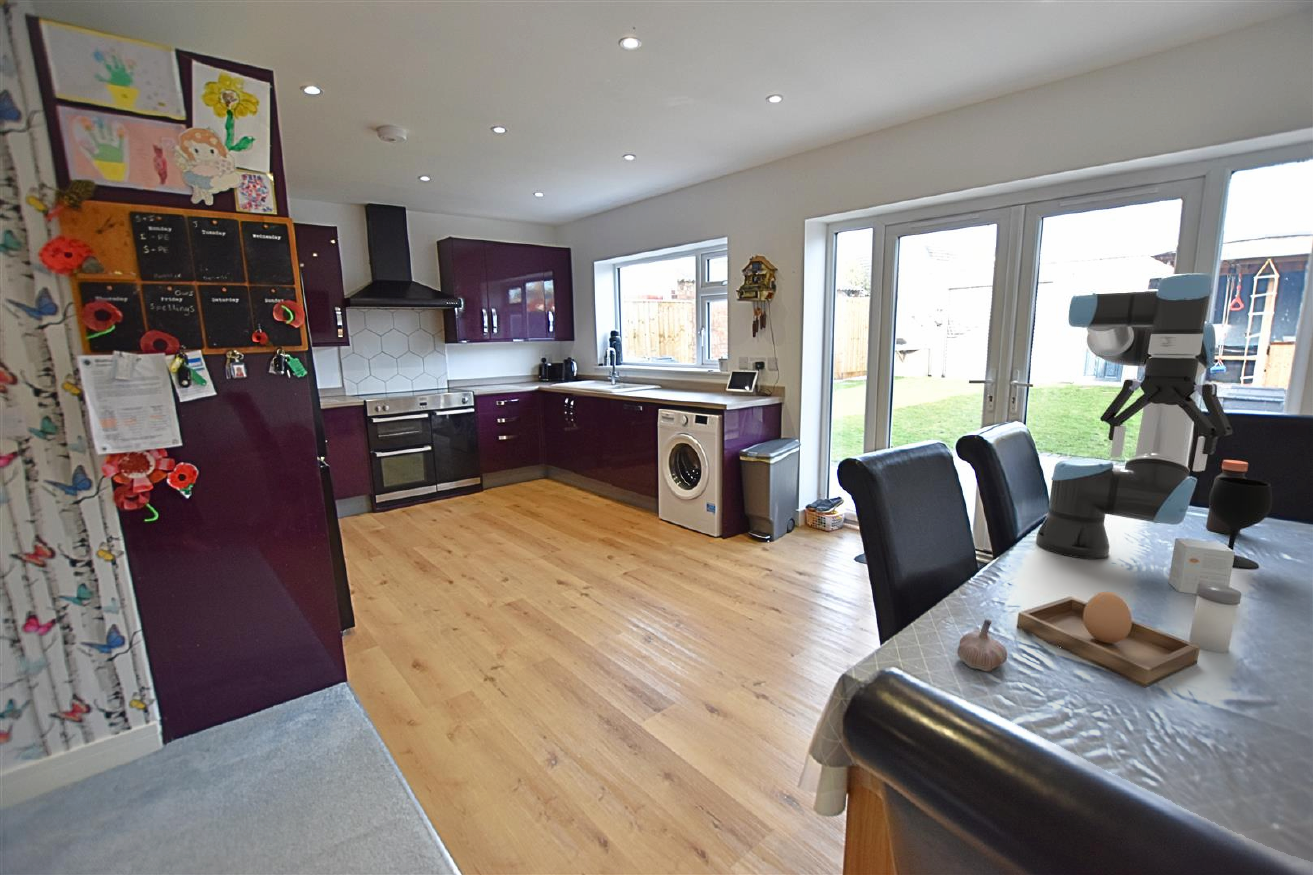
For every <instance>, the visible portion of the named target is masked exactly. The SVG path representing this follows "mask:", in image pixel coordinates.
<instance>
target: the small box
mask: <svg viewBox="0 0 1313 875" xmlns="http://www.w3.org/2000/svg"><path fill="white" fill-rule="evenodd" d="M1235 553H1236V552H1235V551H1234V549H1233V550H1231V549H1230V548H1229V547H1228V545H1225V544H1224V543H1223V542H1218V541H1217V542H1216V541H1207V540H1197V539H1191V538H1190V539H1188V538H1180V537H1175V539H1174V544H1173V551H1172V555H1171V556H1172V558H1171V563H1170V569H1169V573H1168V583H1169V584H1170V585H1171V586H1172V587H1173V588H1174V589H1175V590H1176V591H1177V592H1179V593H1184V594H1191V595H1197V594H1196V592H1197V586H1198V583H1201V582H1208V583H1215V584H1220V585H1224V586H1228V587H1230V580H1231V577H1232V576H1231V575H1232V572H1233V570H1232V569H1233V567H1232V566H1233V561H1234V555H1236V554H1235Z"/></svg>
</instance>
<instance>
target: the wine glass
mask: <svg viewBox="0 0 1313 875" xmlns="http://www.w3.org/2000/svg"><path fill="white" fill-rule="evenodd" d="M1208 502H1209V503H1208V504H1209V505H1208V506H1209V507H1210V509H1211V511H1212V512H1213V514H1214V515H1215V516H1216V518H1217V519H1218V520H1220V521H1221V522H1222V523H1223V524H1224V525H1226V526H1227V527H1228V528H1229V530H1230V534H1229V537H1228V544H1227V547H1229V548H1230V549H1231V550H1233V551H1234V548H1235V543H1236V542H1235V541H1236V538H1237V535H1238V534H1237V533H1238V531H1239V530H1240V531H1241V530H1243V529H1247V528H1250V527H1253V526H1255V525H1257V524H1259V523H1260V522H1262V521H1263V520H1265V519H1266V518H1267V516H1268V515H1269V514H1270V513H1271V512H1270V511H1271V509H1272V507H1273V502H1274V501H1273V490H1272V487H1271V484H1270V483H1268V482H1264V481H1261V480H1257V479H1250V478H1247V479H1244V478H1235V477H1219V478H1218V479H1217V480H1216V482H1215V484H1214V483H1213V485H1212V488H1211V490H1210V493H1209V496H1208ZM1259 567H1260V565H1259V563H1258V562H1256V561H1254V560H1252V559H1250V558H1246V557H1244V556H1241V555H1237V554H1235V555H1234V561H1233V566H1232V569H1233V568H1234V569H1241V570H1256V569H1258V568H1259Z"/></svg>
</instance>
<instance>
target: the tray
mask: <svg viewBox="0 0 1313 875" xmlns="http://www.w3.org/2000/svg"><path fill="white" fill-rule="evenodd" d="M1087 603H1088V602H1086V601H1083V600H1081V599H1078V598H1076V597H1073V596H1067V597H1064V598H1060V599H1057V600H1054V601H1050V602H1048V603H1045V604H1041V605H1039V606H1035V607H1032V608H1028V609H1024V610H1023V611H1020V612H1018V616H1017V620H1016V621H1017V622H1016V629H1019V630H1021V629H1022V630H1021V631H1023V630H1024V631H1023V632H1025V631H1026V633H1027V634H1030V633H1031V634H1030V635H1032V634H1033V635H1032V636H1034V635H1035V636H1034V637H1036V638H1039V639H1041V640H1042V639H1043V641H1045V642H1047V643H1049V644H1051V645H1053V646H1056V647H1057V646H1058V647H1057V648H1060V647H1061V648H1060V649H1062V650H1065V651H1067V652H1068V651H1069V652H1068V653H1070V654H1072V655H1075V656H1076V657H1079V658H1081V659H1083V660H1086V661H1088V662H1090V663H1091V664H1094V665H1096V666H1098V667H1099V668H1102V669H1105V670H1106V671H1109V672H1111V673H1113V674H1115V675H1117V676H1120V677H1121V678H1124V679H1126V680H1128V681H1131V682H1132V683H1134V684H1137V685H1139V686H1140V687H1143V688H1147V687H1149V686H1151V685H1153V684H1156V683H1157V682H1159V681H1163V680H1164V679H1166V678H1168V677H1170V676H1172V675H1175V674H1176V673H1179V672H1181V671H1183V670H1186V669H1187V668H1190V667H1191V666H1194V665H1196V664H1198V660H1199V654H1200V650H1201V648H1200V646H1198V645H1195V644H1192V643H1191V642H1190V641H1187V640H1184V639H1182V638H1179V637H1176V636H1174V635H1171V634H1169V633H1167V632H1164V631H1161V630H1159V629H1156V628H1154V627H1150V626H1149V625H1145V624H1143V623H1140V622H1138V621H1135V620H1133V619H1132V625H1131V630H1130V632H1129V634H1128V635H1127V636H1126V637H1125V638H1124V639H1123V640H1121V641H1119V642H1116V643H1104V642H1100V641H1099V640H1097V639H1095V638H1094V637H1093V636H1092V635H1091V634H1090V633H1089V632H1088V631H1087V629H1086V627H1085V625H1084V621H1083V613H1084V609H1085V607H1086V604H1087Z"/></svg>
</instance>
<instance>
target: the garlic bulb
mask: <svg viewBox="0 0 1313 875" xmlns="http://www.w3.org/2000/svg"><path fill="white" fill-rule="evenodd" d="M982 624H983V625H982V628H981V631H979V630H978V631H971V632H969V633H967V634H964V635H963V636H962V637H961V638H960V640H959V645H958V647H957V648H956V649H957V651H956V652H957V655H958V657H959V659H960V660H961V661H963V662H964V664H965V665H967V666H968V667H970V668H972V669H975V670H981V671H983V672H990V671H992V670H993V669H995V668H998V667H1000V666H1001V665H1004V664H1005V663H1006V661H1007V659H1008V658H1007V657H1008V652H1007V649H1006V647H1005V646H1004V644H1002V643H1001V642H1000V641H998V640H996V639H994V638H992V637H991V636H990V635H988V633H989V629H990V627H991V625H992V620H990V619H987V618H985V619H984V621H983V623H982Z"/></svg>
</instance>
